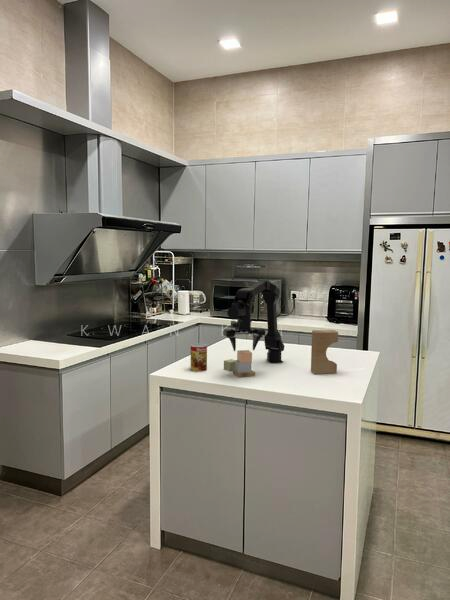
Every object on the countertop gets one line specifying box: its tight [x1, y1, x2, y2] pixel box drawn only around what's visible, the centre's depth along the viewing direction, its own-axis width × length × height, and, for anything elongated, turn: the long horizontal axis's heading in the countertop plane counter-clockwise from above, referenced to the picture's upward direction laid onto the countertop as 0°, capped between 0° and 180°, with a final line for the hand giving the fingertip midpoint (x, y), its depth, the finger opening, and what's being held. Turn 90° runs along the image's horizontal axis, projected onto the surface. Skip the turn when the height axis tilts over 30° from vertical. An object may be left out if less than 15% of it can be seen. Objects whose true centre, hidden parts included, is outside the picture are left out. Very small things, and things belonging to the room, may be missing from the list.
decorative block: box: [310, 329, 339, 375], centre depth 209 cm, size 11×6×20 cm, turn 98°
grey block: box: [234, 359, 252, 373], centre depth 204 cm, size 6×6×4 cm
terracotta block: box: [236, 349, 253, 363], centre depth 204 cm, size 6×6×4 cm
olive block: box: [223, 358, 236, 373], centre depth 213 cm, size 5×5×4 cm
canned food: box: [190, 342, 208, 373], centre depth 212 cm, size 8×8×12 cm
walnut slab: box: [232, 369, 256, 379], centre depth 205 cm, size 8×8×2 cm
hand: (244, 350), depth 204 cm, fingers open, 9 cm apart
